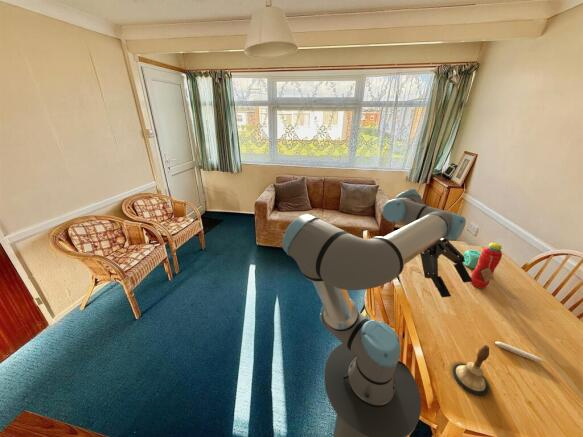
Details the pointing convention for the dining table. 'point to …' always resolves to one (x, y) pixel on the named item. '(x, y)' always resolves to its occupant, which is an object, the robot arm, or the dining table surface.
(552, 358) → the dining table surface
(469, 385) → the hand bell
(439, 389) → the dining table surface
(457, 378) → the corner coaster
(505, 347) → the pen
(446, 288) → the robot arm
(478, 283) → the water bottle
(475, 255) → the decorative dice
